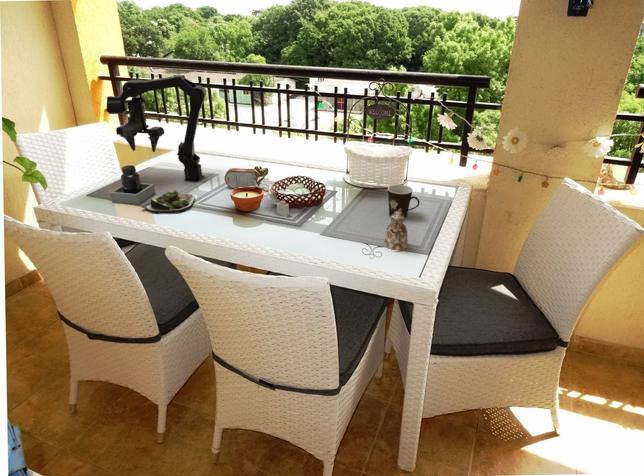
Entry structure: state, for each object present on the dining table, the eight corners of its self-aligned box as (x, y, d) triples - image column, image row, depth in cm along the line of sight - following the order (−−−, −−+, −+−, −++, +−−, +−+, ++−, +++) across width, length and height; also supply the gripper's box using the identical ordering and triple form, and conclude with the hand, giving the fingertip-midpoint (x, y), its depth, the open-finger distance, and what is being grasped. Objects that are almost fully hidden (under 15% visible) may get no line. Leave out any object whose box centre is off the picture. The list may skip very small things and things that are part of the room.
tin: (262, 187, 187) (261, 168, 183) (260, 190, 184) (259, 171, 180) (226, 186, 188) (224, 167, 184) (224, 189, 186) (222, 169, 182)
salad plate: (155, 194, 181) (153, 183, 179) (200, 194, 182) (198, 183, 180) (139, 215, 164) (136, 203, 162) (188, 214, 165) (186, 202, 163)
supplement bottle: (121, 199, 175) (115, 170, 169) (129, 192, 181) (123, 164, 175) (139, 199, 174) (133, 170, 169) (146, 193, 180) (140, 164, 175)
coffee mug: (381, 212, 165) (383, 186, 160) (401, 208, 168) (403, 183, 163) (398, 225, 155) (400, 198, 151) (419, 221, 158) (422, 194, 154)
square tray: (155, 193, 181) (153, 184, 180) (139, 204, 171) (137, 195, 170) (129, 191, 184) (127, 181, 182) (112, 202, 174) (109, 192, 172)
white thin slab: (289, 215, 163) (288, 194, 159) (286, 216, 162) (285, 196, 158) (272, 211, 166) (271, 191, 162) (270, 213, 165) (268, 192, 161)
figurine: (380, 247, 142) (382, 212, 136) (389, 238, 147) (392, 204, 141) (401, 253, 138) (405, 218, 133) (410, 244, 144) (414, 209, 138)
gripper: (103, 116, 176) (112, 155, 183) (146, 119, 172) (153, 158, 180) (120, 110, 185) (128, 147, 193) (161, 112, 182) (168, 150, 189)
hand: (144, 151), depth 188 cm, fingers open, 9 cm apart
